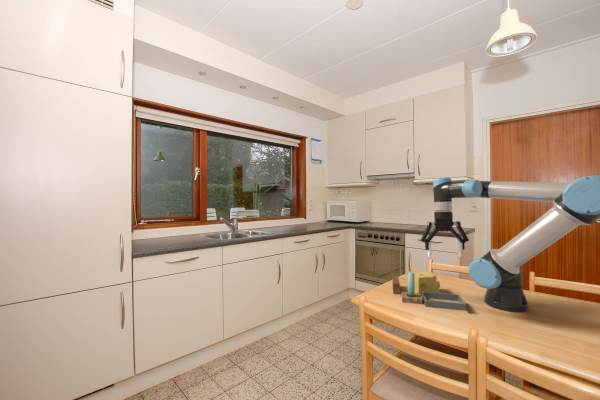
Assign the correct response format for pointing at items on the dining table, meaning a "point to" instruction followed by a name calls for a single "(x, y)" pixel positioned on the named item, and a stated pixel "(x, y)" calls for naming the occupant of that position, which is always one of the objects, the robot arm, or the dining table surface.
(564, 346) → the dining table surface
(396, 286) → the bar
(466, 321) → the dining table surface
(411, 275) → the dowel
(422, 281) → the cheese
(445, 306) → the tray
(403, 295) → the holder
